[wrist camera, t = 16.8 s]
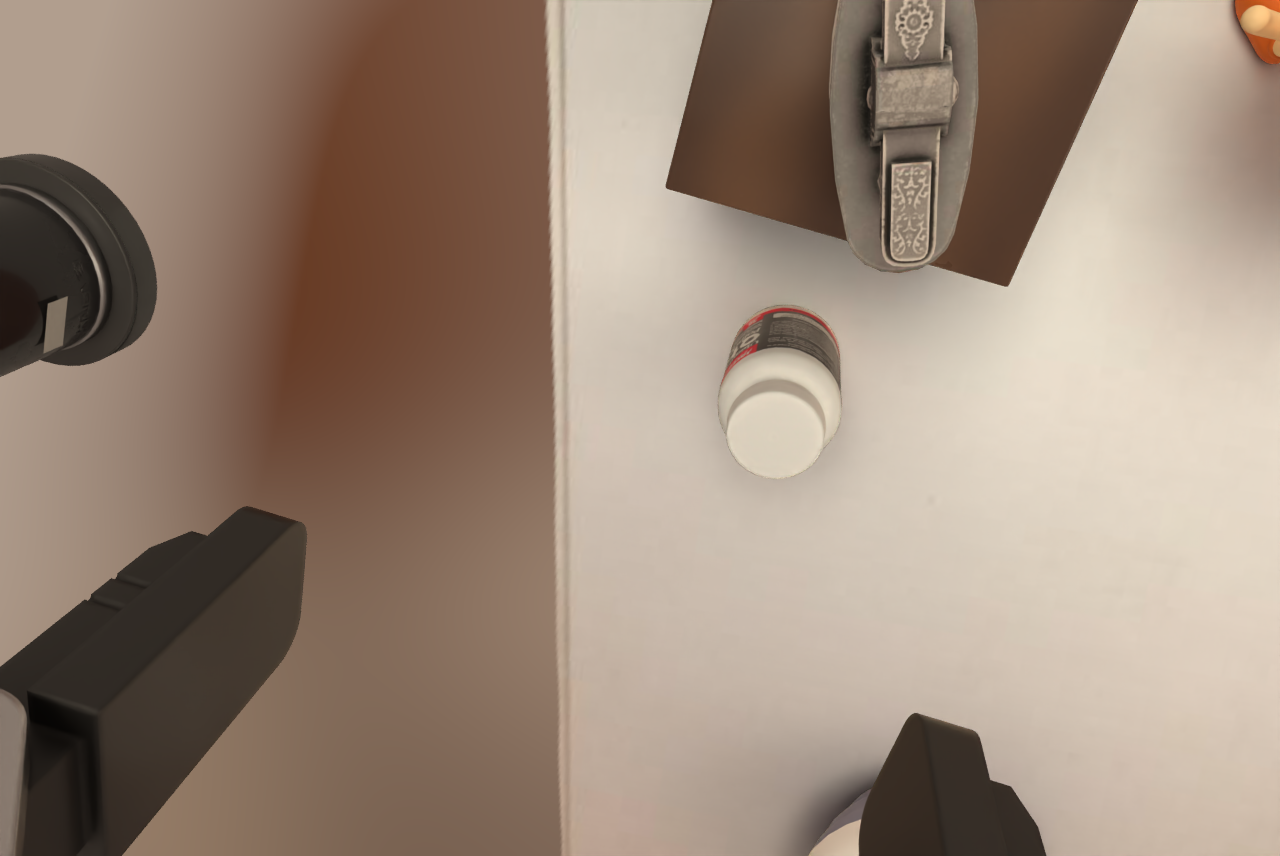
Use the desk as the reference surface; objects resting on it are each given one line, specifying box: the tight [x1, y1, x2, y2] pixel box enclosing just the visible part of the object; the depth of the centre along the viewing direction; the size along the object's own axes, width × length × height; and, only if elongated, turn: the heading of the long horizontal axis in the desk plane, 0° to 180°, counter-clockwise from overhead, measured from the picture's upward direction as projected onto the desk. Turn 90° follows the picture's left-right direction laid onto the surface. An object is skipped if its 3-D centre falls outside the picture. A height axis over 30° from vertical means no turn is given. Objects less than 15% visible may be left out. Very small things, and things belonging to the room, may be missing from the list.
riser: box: [666, 0, 1138, 287], centre depth 33 cm, size 12×10×12 cm
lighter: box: [829, 0, 978, 273], centre depth 23 cm, size 8×3×10 cm, turn 6°
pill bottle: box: [718, 305, 842, 479], centre depth 40 cm, size 5×5×10 cm
